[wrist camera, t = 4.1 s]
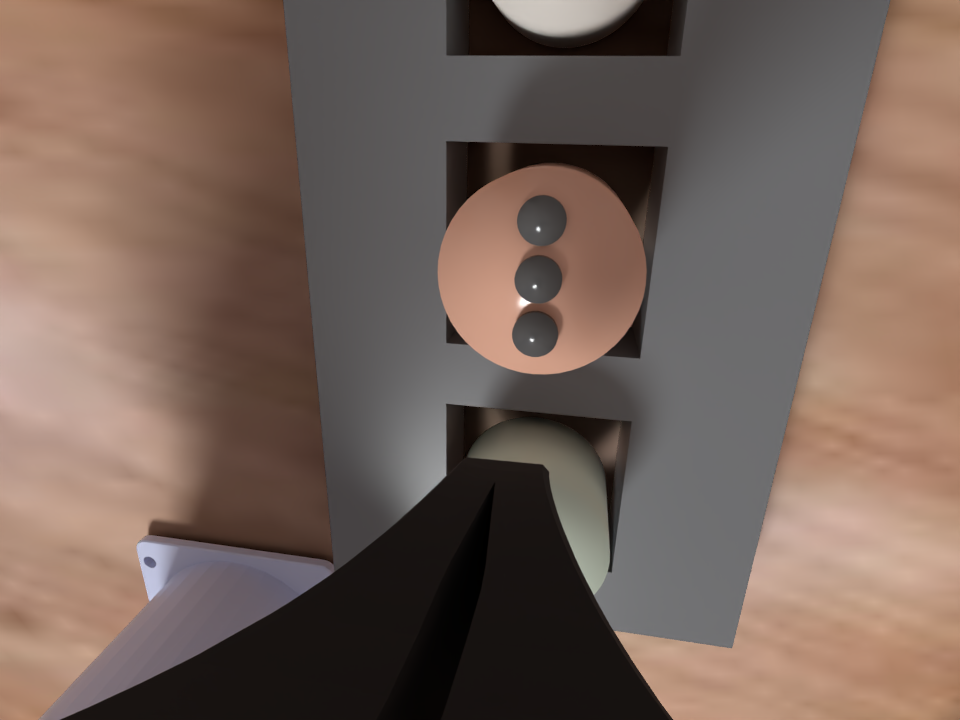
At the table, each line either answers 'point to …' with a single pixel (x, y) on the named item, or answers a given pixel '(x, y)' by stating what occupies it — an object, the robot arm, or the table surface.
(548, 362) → the button three dots
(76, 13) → the table surface
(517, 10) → the button one dot
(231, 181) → the table surface
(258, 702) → the robot arm
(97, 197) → the table surface
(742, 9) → the button board
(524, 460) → the button two dots
